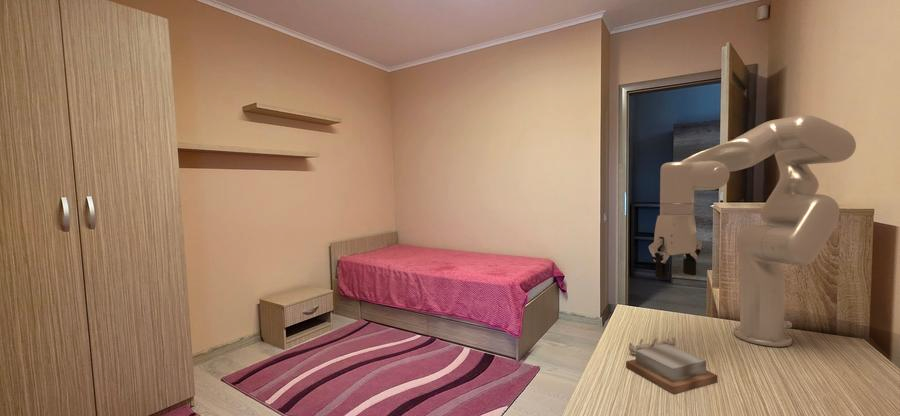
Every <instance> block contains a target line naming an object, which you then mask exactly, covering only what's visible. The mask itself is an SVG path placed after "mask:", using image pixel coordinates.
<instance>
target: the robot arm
mask: <svg viewBox="0 0 900 416" xmlns="http://www.w3.org/2000/svg"><path fill="white" fill-rule="evenodd" d="M856 148H857V142H856V139H855V138H854V136H853V134H852V133H850V131H848V130H847V129H846V128H843V127H841V126H839V125H837V124H834V123H832V122H830V121H828V120H825V119H823V118H820V117H817V116H813V115H809V114H800V115H795V116H790V117H789V116H788V117H781V118H778V119H773V120H768V121H766V122H763V123H761V124H759V125H757V126H755V127H754V128H752V129H749V130H748V131H746V132H745V133H743V134H741V135H739V136H737V137H735V138H733V139H731V140H729V141H725V142H722V143H720V144H718V145H715V146H713V147H709V148H708V149H704V150H702V151H699V152H697V153H694V154H692V155H690V156H689V157H687V158H685V159H682V160H681V161H671V162H665V163H663V164H662V165H661V167H660V173H659V174H660V177H659V178H660V182H659V186H660V187H659V215H657V217H656V222H655V229H654V234H653V235H654V237H653V238H654V240H653V242H652V243H651V244H649V245H648V250H649V252H650V257H652V258H653V261H654V262H655V277H657V278H660V279H664V280H667V279H669V263H667V261H668V259H669V258H670V256H679V255H683V256H684V257H685V258H684V257H683V264H682V265H683V266H682V268H683V269H682V270H683V271H682V273H683V274H685V275H689V276H696V275H697V261H698V259H699V255H700V254H701V249H702V248H703V241H701V240H699V239H698V237H697V224H696V219H695V191H715V190H718V189H720V188H722V187H724V186H725V185H727V183H728V182H729V181H730V180H729V179H730V175H731V172H736V171H737V172H738V171H740V170H744V169H748V168H752V167H753V166H755V165H757V164H759V163H760V162H762V161H764V160H765V159H767V158H769V157H771V156H773V155H774V157H775V160H776V164H777V166H778V170H779V179H778V182H777V183H776V185H775V187H774V189H773V190H772V192H771V194H770V195H769V196H768V198H767V200H766V202H764V204H763V207H762V208H761V211H760V218H761V220H762V221H763V222H764V223H765V224H751V225H747V226H745V227H742V228H741V229H740V230H739V232H737V235H736V239H735V243H736V249H737V253H738V258H739V264H740V267H739V268H740V269H739V270H740V283H739V284H740V286H739V287H740V293H739V294H740V295H739V296H740V303H739V304H740V306H739V308H740V309H739V310H740V311H739V313H740V314H739V317H740V318H739V319H740V320H739V322H740V323H739V326H736V327H734V328H733V330H732V331H733V335H735V337H737V338H738V339H741V340H743V341H745V342H747V343H751V344H756V345H760V346H765V347H766V346H768V347H788V346H790V345H792V341H793V338H792V337H791V336H790V335H788V334H787V333H786V332H785V331H786V330H787V329H791V328H792V327H793V324H792V322H791V321H789V320H785V313H786V312H785V305H786V304H785V303H786V301H785V300H786V299H785V297H786V295H785V294H786V277H785V274H784V271H783V269H782V267H781V265H780V264H784V265H790V266H791V265H792V266H800V267H801V266H808V265H809V264H811V263H813V262H814V261H815V260H816V259H817V257H818V256H819V255H820V253H821V251H822V249H824V247H825V245H826V243H827V242H828V240H829V238H830V237H831V235H832V234H833V232H834V230H835V229H836V227H837V224H838V222H839V219H840V206H839V204H838V202H837V201H836V199H834V198H833V197H832V196H828V195H825V194H820V193H817V192H818V190H819V186H820V184H819V181H818V179H817V176H816V175H815V174H814V172H813V171H812V170H811V169H810V167H809V165H816V164H819V165H820V164H834V163H835V164H836V163H841V162H844V161H846V160H848V159H850V158H851V157H852V156H854V153H855V151H856Z"/></svg>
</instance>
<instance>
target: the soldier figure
mask: <svg viewBox="0 0 900 416" xmlns="http://www.w3.org/2000/svg"><path fill="white" fill-rule="evenodd" d="M658 338H659V336H655V337H654V339H652V341H651V343H643V342H644V340H643V338H641V339H640V342H639V343H638V344H637V345H636V346H635V345H634V344H633V343H632V342H630V343H629V344H628V350H629V353H630V354H632V353H633V354H636V350H641V349H645V348H650V347H654V346H659V345H663V344H669V345H671V346H674V347H676V339H675V337H674V336H673V337H672V338H671V341H670V338H667V339H666V340H665V339H661V341H658Z"/></svg>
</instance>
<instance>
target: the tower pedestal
mask: <svg viewBox="0 0 900 416" xmlns="http://www.w3.org/2000/svg"><path fill="white" fill-rule="evenodd" d="M625 368H626V369H628V370H630V371H631V372H634V374H637V375H639V376H640V377H642V378H644V379H646V380H648V381H650V382H651V383H653V384H655V385H657V386H658V387H660V388H661V389H663V390H665V391H667V392H670V393H671V394H673V395H675V394H680V393H682V392H686V391H687V392H688V391H690V390H694V389H697V388H700V387H704V386H708V385H711V384H716V383H718V374H715V373H713V372H712V371H709V370H707V360H706V359H704V358H701V357H699V356H697V355H695V354H692V353H690V352H687V351H685V350H683V349H680V348H677V346H672V345H669V344H663V345H659V346H654V347H650V348H645V349H641V350H636V353H635V359H630V360H626V361H625Z"/></svg>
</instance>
